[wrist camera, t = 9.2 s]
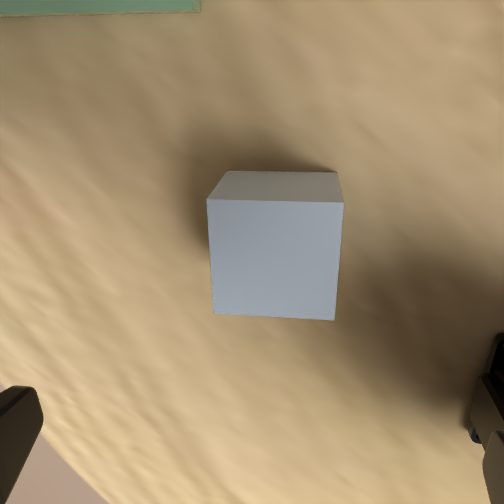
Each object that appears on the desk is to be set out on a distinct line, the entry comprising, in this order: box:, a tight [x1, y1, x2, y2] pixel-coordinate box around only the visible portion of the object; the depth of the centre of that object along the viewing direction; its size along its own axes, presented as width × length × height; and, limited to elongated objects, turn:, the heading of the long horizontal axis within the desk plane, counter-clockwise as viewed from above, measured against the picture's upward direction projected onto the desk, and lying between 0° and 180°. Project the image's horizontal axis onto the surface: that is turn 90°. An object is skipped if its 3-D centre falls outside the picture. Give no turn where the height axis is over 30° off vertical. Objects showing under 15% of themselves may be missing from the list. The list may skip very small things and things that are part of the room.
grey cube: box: [206, 171, 344, 320], centre depth 16 cm, size 4×4×4 cm
